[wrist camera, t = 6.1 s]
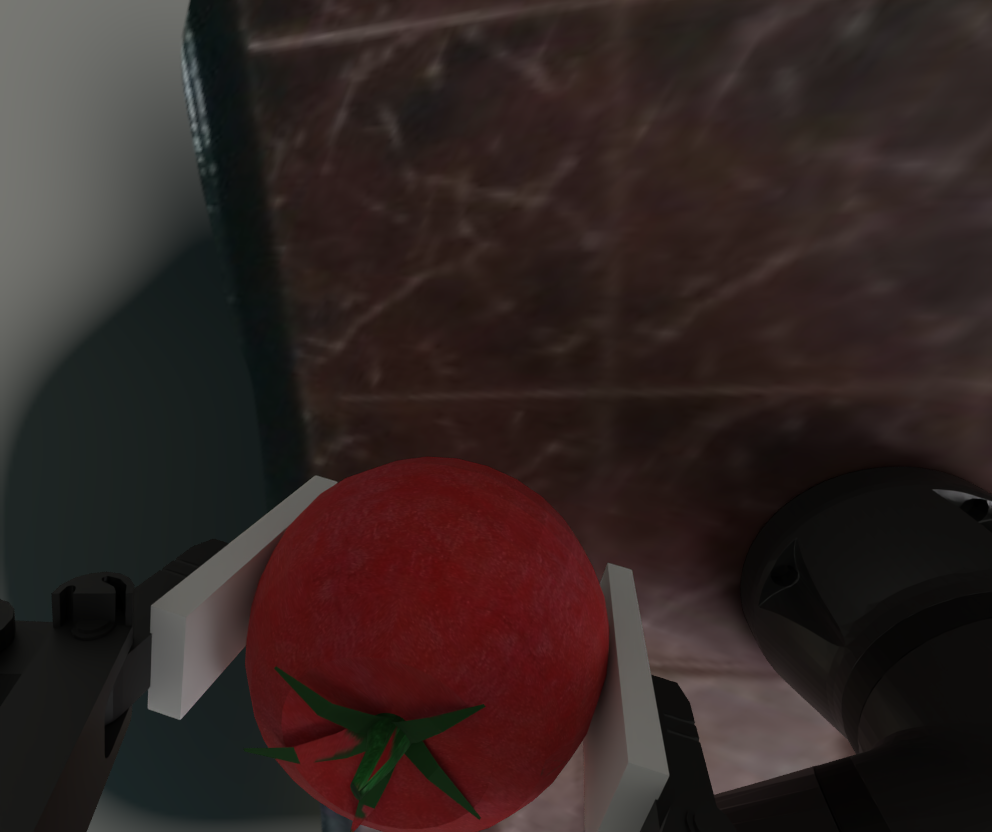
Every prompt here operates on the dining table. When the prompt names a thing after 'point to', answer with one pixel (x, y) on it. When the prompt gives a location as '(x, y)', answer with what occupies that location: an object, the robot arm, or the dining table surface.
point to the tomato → (426, 647)
